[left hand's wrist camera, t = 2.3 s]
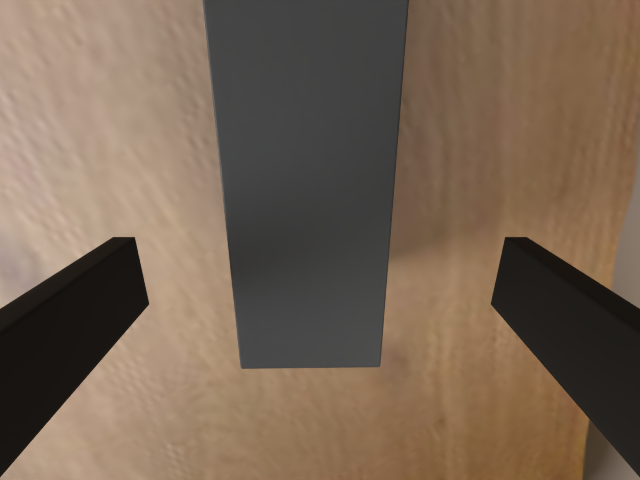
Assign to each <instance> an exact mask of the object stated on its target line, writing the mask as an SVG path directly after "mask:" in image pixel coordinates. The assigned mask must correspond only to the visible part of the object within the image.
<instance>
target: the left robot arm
mask: <svg viewBox="0 0 640 480" xmlns="http://www.w3.org/2000/svg"><path fill="white" fill-rule="evenodd" d="M148 305H149V301H148V296H147V292H146V287H145V282H144V278H143V273H142V268H141V264H140V259H139V254H138V250H137V245H136V241H135V237H113V238H111V239H110V240H108V241H106V242H105V243H103V244H102V245H100V246H99V247H97V248H95V249H94V250H92V251H91V252H89V253H87V254H86V255H84V256H83V257H81V258H80V259H78V260H76V261H75V262H73V263H72V264H70V265H69V266H67V267H65V268H64V269H62V270H61V271H59V272H58V273H56V274H54V275H53V276H51V277H50V278H48V279H47V280H45V281H43V282H42V283H40V284H39V285H37V286H36V287H34V288H32V289H31V290H29V291H28V292H26V293H25V294H23V295H21V296H20V297H18V298H17V299H15V300H14V301H12V302H10V303H9V304H7V305H6V306H4V307H3V308H1V309H0V477H1V476H2V475H3V473H4V472H5V471H6V470H7V469H8V468H9V466H10V465H11V464H12V463H13V462H14V461H15V459H16V458H17V457H18V456H19V455H20V454H21V452H22V451H23V450H24V449H25V448H26V447H27V445H28V444H29V443H30V442H31V441H32V440H33V439H34V437H35V436H36V435H37V434H38V433H39V432H40V430H41V429H42V428H43V427H44V426H45V425H46V423H47V422H48V421H49V420H50V419H51V418H52V416H53V415H54V414H55V413H56V412H57V411H58V409H59V408H60V407H61V406H62V405H63V404H64V403H65V401H66V400H67V399H68V398H69V397H70V396H71V394H72V393H73V392H74V391H75V390H76V389H77V387H78V386H79V385H80V384H81V383H82V382H83V380H84V379H85V378H86V377H87V376H88V375H89V373H90V372H91V371H92V370H93V369H94V368H95V367H96V365H97V364H98V363H99V362H100V361H101V360H102V358H103V357H104V356H105V355H106V354H107V353H108V351H109V350H110V349H111V348H112V347H113V346H114V344H115V343H116V342H117V341H118V340H119V339H120V337H121V336H122V335H123V334H124V333H125V332H126V331H127V329H128V328H129V327H130V326H131V325H132V324H133V322H134V321H135V320H136V319H137V318H138V317H139V315H140V314H141V313H142V312H143V311H144V310H145V308H146V307H147V306H148ZM491 305H492V306H493V307H494V308H495V310H496V311H497V312H498V313H499V314H500V315H501V317H502V318H503V319H504V320H505V321H506V322H507V324H508V325H509V326H510V327H511V328H512V329H513V331H514V332H515V333H516V334H517V335H518V336H519V337H520V339H521V340H522V341H523V342H524V343H525V344H526V346H527V347H528V348H529V349H530V350H531V351H532V353H533V354H534V355H535V356H536V357H537V358H538V360H539V361H540V362H541V363H542V364H543V365H544V367H545V368H546V369H547V370H548V371H549V372H550V373H551V375H552V376H553V377H554V378H555V379H556V380H557V382H558V383H559V384H560V385H561V386H562V387H563V389H564V390H565V391H566V392H567V393H568V394H569V396H570V397H571V398H572V399H573V400H574V401H575V403H576V404H577V405H578V406H579V407H580V408H581V409H582V411H583V412H584V413H585V414H586V415H587V416H588V418H589V419H590V420H591V421H592V422H593V423H594V425H595V426H596V427H597V428H598V429H599V430H600V432H601V433H602V434H603V435H604V436H605V437H606V438H607V440H608V441H609V442H610V443H611V444H612V445H613V447H614V448H615V449H616V450H617V451H618V452H619V454H620V455H621V456H622V457H623V458H624V459H625V461H626V462H627V463H628V464H629V465H630V466H631V468H632V469H633V470H634V471H635V472H636V473H637V475H638V476H639V477H640V309H639V308H637V307H636V306H634V305H633V304H631V303H630V302H628V301H626V300H625V299H623V298H622V297H620V296H619V295H617V294H615V293H614V292H612V291H611V290H609V289H608V288H606V287H604V286H603V285H601V284H600V283H598V282H597V281H595V280H593V279H592V278H590V277H589V276H587V275H586V274H584V273H582V272H581V271H579V270H578V269H576V268H575V267H573V266H571V265H570V264H568V263H567V262H565V261H564V260H562V259H560V258H559V257H557V256H556V255H554V254H553V253H551V252H549V251H548V250H546V249H545V248H543V247H541V246H540V245H538V244H537V243H535V242H534V241H532V240H530V239H529V238H527V237H505V241H504V245H503V250H502V254H501V259H500V264H499V268H498V273H497V278H496V282H495V287H494V292H493V296H492V301H491Z"/></svg>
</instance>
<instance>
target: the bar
mask: <svg viewBox="0 0 640 480" xmlns="http://www.w3.org/2000/svg"><path fill="white" fill-rule="evenodd" d="M408 4H409V0H203V8H204V17H205V27H206V37H207V46H208V56H209V66H210V75H211V85H212V95H213V104H214V114H215V124H216V133H217V143H218V153H219V162H220V172H221V182H222V191H223V201H224V211H225V220H226V230H227V240H228V249H229V259H230V269H231V278H232V288H233V298H234V307H235V317H236V327H237V336H238V346H239V356H240V365H241V368H242V369H254V368H341V367H380V361H381V349H382V336H383V323H384V310H385V298H386V285H387V272H388V259H389V246H390V234H391V221H392V208H393V195H394V183H395V170H396V157H397V144H398V131H399V119H400V106H401V93H402V80H403V68H404V55H405V42H406V29H407V16H408Z"/></svg>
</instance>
